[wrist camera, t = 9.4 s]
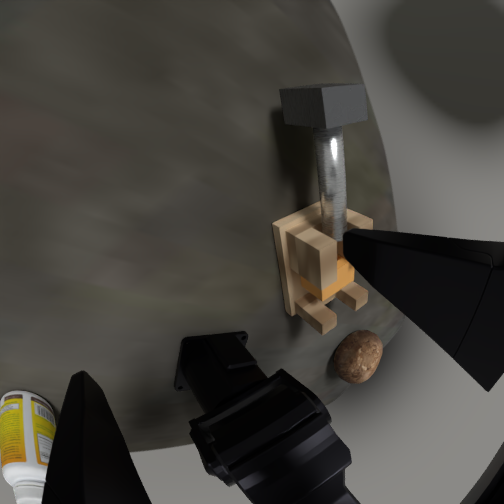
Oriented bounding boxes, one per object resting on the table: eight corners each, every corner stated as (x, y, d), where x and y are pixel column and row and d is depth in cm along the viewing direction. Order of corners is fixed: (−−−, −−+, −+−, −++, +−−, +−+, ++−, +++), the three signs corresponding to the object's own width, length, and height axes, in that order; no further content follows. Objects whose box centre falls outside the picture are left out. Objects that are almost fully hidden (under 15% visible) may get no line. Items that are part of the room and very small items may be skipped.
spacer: (332, 266, 28) (353, 280, 26) (301, 286, 27) (322, 301, 25) (332, 245, 27) (354, 258, 25) (299, 264, 26) (321, 279, 23)
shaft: (334, 217, 25) (369, 234, 22) (299, 235, 24) (334, 256, 20) (321, 83, 19) (364, 84, 16) (279, 89, 17) (321, 87, 14)
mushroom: (368, 370, 42) (389, 381, 36) (323, 379, 41) (341, 393, 35) (369, 323, 43) (392, 329, 37) (324, 329, 42) (342, 337, 35)
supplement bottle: (-1, 415, 16) (8, 510, 8) (1, 379, 15) (3, 488, 7) (50, 428, 19) (70, 519, 11) (58, 396, 19) (79, 501, 11)
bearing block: (336, 279, 31) (370, 301, 28) (285, 311, 29) (318, 340, 25) (333, 194, 26) (376, 211, 22) (271, 223, 23) (313, 247, 20)
